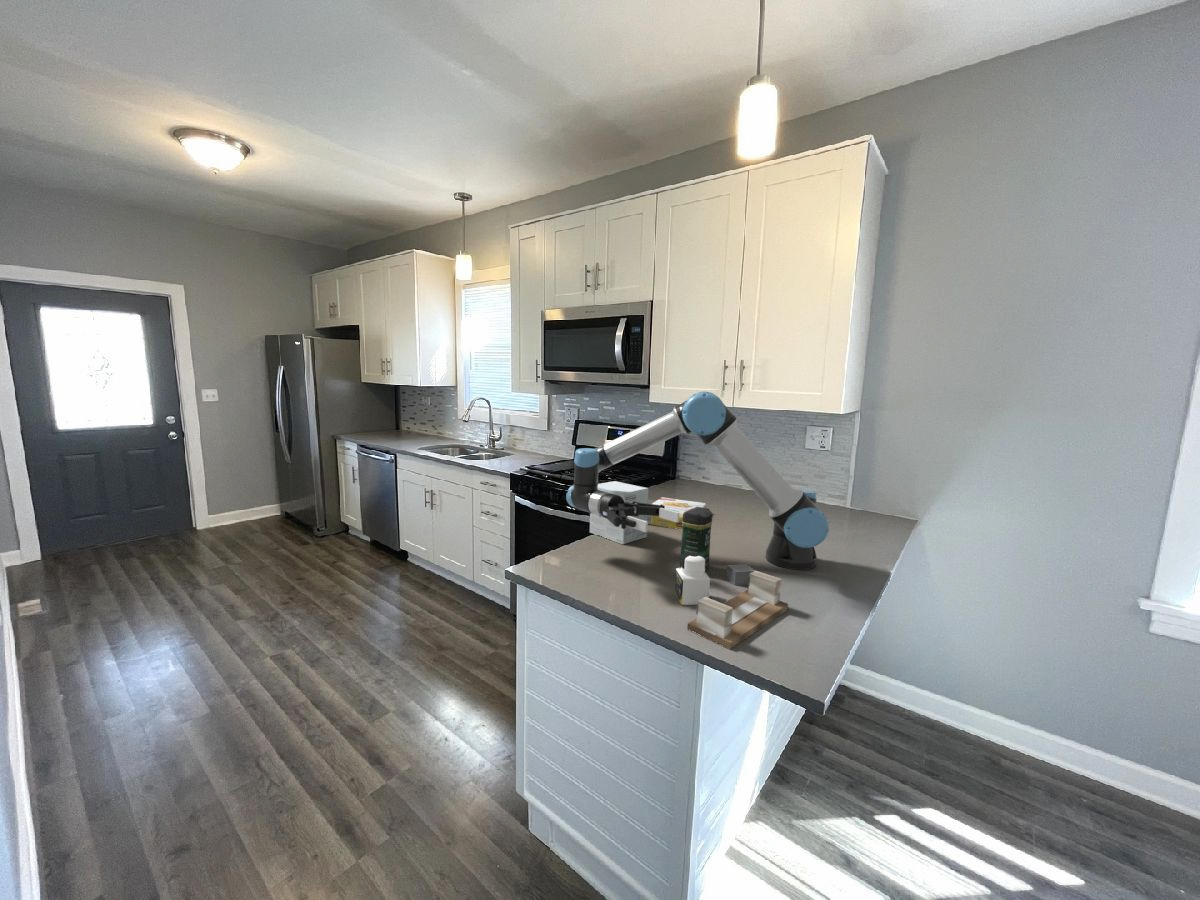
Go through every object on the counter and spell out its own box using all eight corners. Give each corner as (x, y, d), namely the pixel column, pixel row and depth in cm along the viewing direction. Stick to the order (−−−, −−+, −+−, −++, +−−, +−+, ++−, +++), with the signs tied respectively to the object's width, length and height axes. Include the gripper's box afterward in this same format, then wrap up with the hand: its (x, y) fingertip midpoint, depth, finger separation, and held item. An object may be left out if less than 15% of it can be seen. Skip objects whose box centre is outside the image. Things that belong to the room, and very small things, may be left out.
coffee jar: (701, 577, 139) (704, 514, 136) (675, 570, 143) (678, 510, 141) (712, 566, 147) (716, 507, 144) (688, 560, 151) (691, 503, 149)
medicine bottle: (674, 593, 128) (676, 549, 126) (700, 592, 129) (703, 549, 127) (681, 605, 121) (683, 560, 119) (708, 605, 122) (711, 559, 120)
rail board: (747, 594, 128) (749, 567, 127) (787, 609, 120) (790, 580, 119) (687, 629, 110) (688, 598, 108) (730, 649, 102) (732, 616, 101)
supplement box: (648, 537, 173) (650, 488, 171) (623, 545, 164) (624, 493, 161) (613, 526, 186) (615, 480, 183) (588, 533, 176) (589, 484, 174)
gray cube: (745, 577, 140) (746, 564, 140) (754, 584, 135) (755, 570, 135) (726, 578, 139) (727, 565, 138) (734, 585, 134) (735, 572, 134)
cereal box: (640, 510, 188) (660, 495, 214) (639, 524, 189) (659, 507, 214) (691, 518, 180) (706, 502, 206) (690, 533, 181) (705, 514, 207)
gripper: (634, 510, 153) (689, 526, 138) (575, 525, 136) (631, 545, 121) (635, 487, 152) (691, 501, 137) (576, 499, 135) (632, 516, 120)
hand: (663, 522), depth 129 cm, fingers open, 13 cm apart
